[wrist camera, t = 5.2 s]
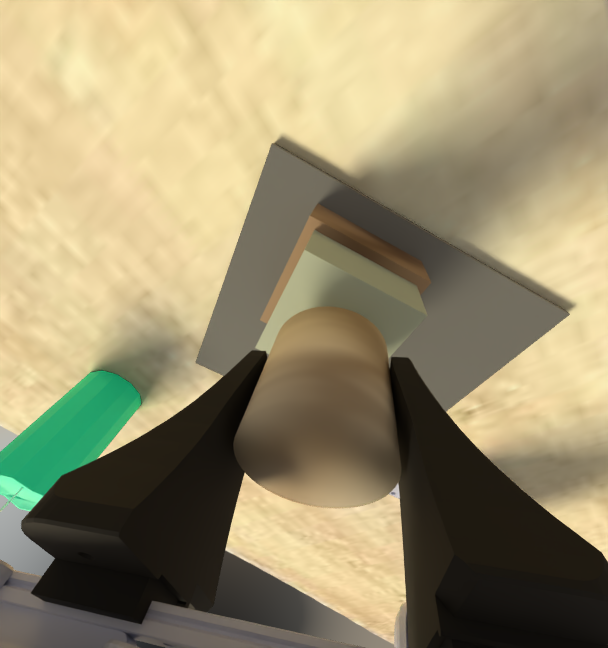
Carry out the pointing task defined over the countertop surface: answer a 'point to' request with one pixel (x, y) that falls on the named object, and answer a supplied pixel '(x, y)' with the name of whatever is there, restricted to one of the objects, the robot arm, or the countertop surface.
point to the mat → (436, 254)
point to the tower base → (358, 243)
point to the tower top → (347, 292)
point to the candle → (66, 437)
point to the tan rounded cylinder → (323, 413)
